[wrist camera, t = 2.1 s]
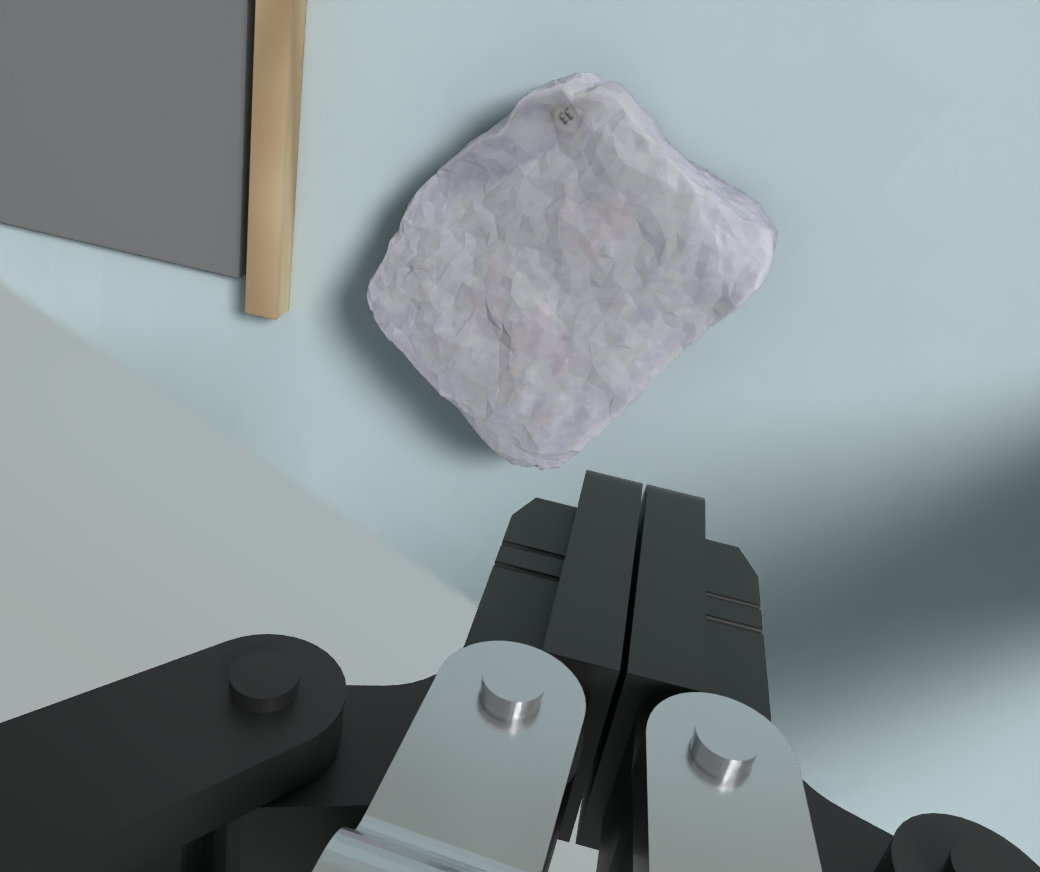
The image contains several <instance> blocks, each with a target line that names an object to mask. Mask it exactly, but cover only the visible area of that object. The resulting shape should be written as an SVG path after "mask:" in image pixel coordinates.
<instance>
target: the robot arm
mask: <svg viewBox="0 0 1040 872" xmlns="http://www.w3.org/2000/svg"><path fill="white" fill-rule="evenodd" d="M642 487H643V484H642V483H638V482H634V481H630V480H626V479H622V478H618V477H614V476H610V475H605V474H601V473H597V472H593V471H589V470H586V474H585V479H584V483H583V487H582V491H581V495H580V499H579V503H578V507H577V508H576V507H572V506H568V505H564V504H560V503H556V502H552V501H548V500H544V499H540V498H535V499H534V500H532V501H531V502H530V503H528V504H527V505H525V506H524V507H523V508H521V509H520V510H518V511H517V512H516V513H514V514H513V515H512V517H511V520H510V522H509V525H508V528H507V530H506V533H505V536H504V539H503V542H502V545H501V547H500V550H499V552H498V555H497V558H496V561H495V565H494V566H493V569H492V571H491V574H490V577H489V580H488V582H487V585H486V588H485V591H484V593H483V596H482V599H481V602H480V604H479V607H478V610H477V612H476V615H475V618H474V621H473V623H472V626H471V629H470V632H469V634H468V637H467V640H466V643H465V645H464V647H463V648H462V649H460V650H458V651H457V652H455V653H454V654H452V655H451V656H450V657H449V658H448V659H447V660H446V661H445V662H444V663H443V665H442V666H441V668H440V669H439V671H438V673H437V674H436V675H433V676H431V677H429V678H426V679H424V680H420V681H417V682H414V683H409V684H402V685H391V686H359V685H353V686H352V685H346V683H345V677H344V675H343V673H342V670H341V668H340V667H339V665H338V664H337V663H336V661H335V660H334V659H333V658H332V657H331V656H330V655H329V654H328V653H327V652H325V651H324V650H322V649H321V648H319V647H318V646H316V645H314V644H312V643H309V642H307V641H305V640H301V639H298V638H295V637H290V636H284V635H275V634H261V635H251V636H244V637H240V638H236V639H233V640H229V641H226V642H223V643H221V644H218V645H215V646H213V647H210V648H207V649H204V650H201V651H199V652H196V653H193V654H190V655H187V656H185V657H182V658H179V659H177V660H174V661H171V662H168V663H166V664H163V665H160V666H157V667H154V668H151V669H149V670H146V671H143V672H140V673H138V674H135V675H132V676H129V677H127V678H124V679H121V680H118V681H116V682H113V683H110V684H107V685H104V686H102V687H99V688H96V689H93V690H91V691H88V692H85V693H82V694H80V695H77V696H74V697H71V698H69V699H66V700H63V701H60V702H57V703H55V704H52V705H50V706H47V707H44V708H41V709H38V710H35V711H33V712H30V713H27V714H24V715H22V716H19V717H16V718H13V719H11V720H8V721H5V722H2V723H0V872H548V869H549V866H550V862H551V859H552V855H553V852H554V849H555V845H556V841H557V839H559V840H563V841H566V842H569V841H570V837H571V834H572V830H573V827H574V824H575V820H576V817H577V814H578V810H579V807H580V804H581V800H582V804H581V810H580V818H579V823H578V831H577V837H576V844H579V845H582V846H586V847H589V848H593V849H597V850H599V855H598V863H597V871H596V872H1040V867H1039V866H1038V865H1037V864H1036V863H1035V862H1034V861H1033V860H1031V859H1030V858H1029V857H1028V856H1027V855H1026V854H1025V853H1023V852H1022V851H1021V850H1020V849H1019V848H1017V847H1016V846H1015V845H1013V844H1012V843H1011V842H1009V841H1008V840H1006V839H1005V838H1003V837H1002V836H1000V835H998V834H997V833H995V832H993V831H992V830H990V829H988V828H986V827H984V826H982V825H979V824H977V823H975V822H972V821H970V820H967V819H964V818H961V817H957V816H952V815H948V814H938V813H930V814H921V815H917V816H914V817H911V818H910V819H908V820H906V821H905V822H903V823H902V824H901V825H900V827H899V828H898V829H897V830H896V832H895V834H894V836H893V835H891V834H889V833H887V832H885V831H884V830H882V829H880V828H878V827H876V826H874V825H872V824H870V823H868V822H867V821H865V820H863V819H861V818H859V817H857V816H855V815H853V814H852V813H850V812H848V811H846V810H844V809H842V808H841V807H839V806H837V805H836V804H834V803H832V802H830V801H829V800H827V799H826V798H824V797H823V796H822V795H820V794H819V793H818V792H816V791H815V790H814V789H813V788H811V787H810V786H809V785H808V784H807V783H806V782H805V781H803V780H802V777H801V772H800V767H799V763H798V760H797V757H796V754H795V752H794V750H793V749H792V747H791V745H790V743H789V742H788V740H787V739H786V738H785V736H784V735H783V734H782V733H781V732H780V730H779V729H778V728H777V727H776V726H775V725H774V724H773V723H771V714H770V703H769V692H768V681H767V671H766V660H765V649H764V639H763V634H761V633H762V629H763V628H762V617H761V610H759V608H760V596H759V585H758V576H757V574H756V573H755V571H754V570H753V568H752V567H751V565H750V564H749V562H748V561H747V559H746V558H745V557H744V555H743V554H742V552H741V551H740V549H739V548H738V547H735V546H731V545H727V544H723V543H719V542H715V541H711V540H706V539H705V499H704V498H701V497H697V496H692V495H688V494H684V493H680V492H676V491H672V490H668V489H664V488H660V487H656V486H651V485H647V486H646V488H645V491H644V494H643V497H642V500H641V495H642ZM640 503H641V504H640Z"/></svg>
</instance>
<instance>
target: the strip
mask: <svg viewBox="0 0 1040 872" xmlns="http://www.w3.org/2000/svg"><path fill="white" fill-rule="evenodd" d="M306 4H307V0H256V5H255V34H254V64H253V93H252V122H251V151H250V180H249V209H248V238H247V267H246V296H245V313H249V314H253V315H257V316H261V317H265V318H270V319H274V320H276V319H277V318H279V317H280V316H281V315H283V314H284V313H285V312H287V311H288V310H289V296H290V279H291V262H292V245H293V227H294V210H295V193H296V176H297V159H298V141H299V124H300V107H301V90H302V73H303V55H304V38H305V21H306Z"/></svg>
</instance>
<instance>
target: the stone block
mask: <svg viewBox="0 0 1040 872" xmlns="http://www.w3.org/2000/svg"><path fill="white" fill-rule="evenodd" d="M777 235H778V231H777V229H776V227H775V226H774V224H773V223H772V221H771V220H770V218H769V217H768V216H767V214H766V213H765V212H764V210H763V208H762V206H761V205H760V203H758V202H757V201H756V200H754V199H753V198H751V197H750V196H748V195H747V194H745V193H744V192H742V191H741V190H739V189H736V188H734V187H731V186H730V185H729V184H728V183H726V182H725V181H723V180H722V179H720V178H718V177H717V176H715V175H714V174H712V173H711V172H709V171H708V170H706V169H704V168H702V167H701V166H699V165H697V164H695V163H693V162H691V161H688V160H687V159H686V158H684V157H683V156H682V155H681V154H680V153H679V152H678V151H676V150H675V149H674V148H673V147H672V146H671V145H670V143H669V142H668V141H667V139H666V138H665V137H664V135H663V133H662V132H661V130H660V129H659V127H658V126H657V124H656V122H655V121H654V119H653V118H652V117H651V116H650V115H649V114H648V113H647V112H646V111H645V110H644V109H643V108H642V107H641V106H640V105H639V104H638V102H637V101H636V99H635V98H634V96H633V94H632V93H631V92H630V91H629V90H628V89H627V88H625V87H624V86H623V85H621V84H620V83H616V82H611V81H609V80H606V79H605V78H603V77H601V76H599V75H596V74H592V73H574V74H573V75H571V76H568V77H565V78H561V79H557V80H553V81H551V82H549V83H547V84H545V85H543V86H540V87H538V88H536V89H533V90H532V91H530V92H529V93H527V94H526V95H525V96H524V97H523V98H522V99H521V100H520V101H519V102H518V103H517V104H516V105H515V106H514V108H513V109H512V111H511V112H510V113H509V114H508V115H507V116H506V117H505V118H503V119H502V120H501V121H500V122H498V123H497V124H496V125H495V126H493V127H492V128H491V129H490V130H488V131H487V132H485V133H483V134H482V135H480V136H478V137H476V138H475V139H473V140H472V141H470V142H469V143H468V144H467V145H466V146H465V147H464V148H463V149H462V150H461V151H460V152H459V153H458V154H457V155H456V156H454V157H453V158H451V159H450V160H448V161H447V162H446V163H445V164H444V165H443V166H442V167H441V168H440V169H439V170H438V171H437V173H436V174H435V175H433V176H432V177H431V178H430V179H429V180H428V181H427V182H426V183H425V184H424V185H423V186H422V187H421V188H420V189H419V190H418V191H417V192H416V193H415V195H414V196H413V197H412V199H411V201H410V203H409V205H408V207H407V209H406V211H405V214H404V216H403V218H402V220H401V223H400V226H399V231H398V232H396V233H395V234H394V235H393V237H392V238H391V240H390V241H389V244H388V249H387V253H386V255H385V257H384V259H383V261H382V262H381V264H380V265H379V266H378V268H377V270H376V271H375V273H374V275H373V276H372V277H371V278H370V280H369V282H368V283H369V287H368V289H367V300H368V303H369V306H370V310H372V313H373V317H374V318H375V320H376V322H377V325H378V326H379V328H380V330H381V331H382V332H383V333H384V334H385V335H386V337H387V338H388V340H389V341H391V342H392V343H393V344H394V345H395V346H396V347H397V348H398V349H399V350H400V351H402V353H403V355H404V356H405V357H406V358H407V359H408V360H409V361H410V362H411V363H412V365H413V366H414V367H415V368H416V370H417V371H418V372H419V373H420V374H421V375H422V376H423V377H424V378H425V379H426V380H427V381H428V382H429V383H430V384H431V385H432V386H433V387H434V388H435V389H436V390H437V392H438V393H439V394H440V395H441V396H443V397H444V398H445V399H447V400H448V401H450V402H451V403H452V404H453V405H454V406H456V407H457V408H458V409H459V410H460V411H461V413H462V414H463V416H464V417H465V418H466V420H467V421H468V422H469V423H470V425H471V426H472V427H473V429H474V430H475V431H476V432H477V433H478V435H479V436H480V437H481V439H482V440H483V441H484V442H485V443H486V444H487V445H488V446H489V447H490V448H491V449H492V450H493V451H494V452H495V453H497V454H498V455H500V456H501V457H503V458H504V459H506V460H507V461H508V462H510V463H511V464H513V465H520V466H524V467H531V466H536V467H538V468H539V469H540V470H544V469H552V468H560V467H561V466H562V465H563V464H564V463H566V462H567V461H568V460H569V459H570V458H572V457H573V456H574V455H576V454H577V453H579V452H580V451H581V450H582V449H583V448H585V447H586V446H587V445H588V444H590V443H591V442H592V441H593V440H594V439H595V438H596V437H597V436H598V435H599V434H600V433H601V432H602V431H603V430H604V429H605V428H606V427H607V426H608V425H609V424H610V423H611V422H612V421H614V420H615V419H616V418H617V417H618V416H619V415H620V414H621V413H622V412H623V411H625V410H626V409H627V408H628V407H629V406H630V405H631V404H632V403H633V402H634V401H635V400H636V399H637V398H638V397H639V396H640V395H641V393H642V392H643V391H644V390H645V389H646V388H647V387H648V386H649V385H650V384H651V383H652V382H653V380H654V379H655V378H656V377H657V376H658V375H659V374H660V373H661V372H662V371H663V370H664V369H665V368H666V367H667V366H668V365H669V364H670V363H671V362H672V361H673V360H674V359H675V358H676V357H677V356H678V355H679V354H680V353H681V352H682V351H683V350H685V349H686V348H687V347H688V346H689V345H691V344H692V343H693V342H694V341H696V340H697V339H698V338H699V337H700V336H701V335H702V334H703V333H704V332H705V331H706V330H707V329H708V328H709V327H711V326H712V325H714V324H715V323H717V322H718V321H720V320H721V319H723V318H724V317H726V316H727V315H729V314H730V313H732V312H733V311H735V310H736V309H737V308H738V307H739V306H740V305H741V304H742V303H743V302H744V301H745V300H746V299H748V298H749V297H750V296H751V295H752V294H753V293H754V292H755V291H756V290H757V289H758V288H759V286H760V285H761V283H762V282H763V280H764V279H765V277H766V275H767V274H768V272H769V270H770V265H771V261H772V254H773V251H774V249H775V246H776V240H777Z"/></svg>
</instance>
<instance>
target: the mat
mask: <svg viewBox="0 0 1040 872" xmlns="http://www.w3.org/2000/svg"><path fill="white" fill-rule="evenodd" d="M253 27H254V0H0V222H2V223H6V224H10V225H15V226H19V227H23V228H27V229H32V230H36V231H40V232H44V233H49V234H53V235H57V236H61V237H66V238H70V239H74V240H79V241H83V242H87V243H91V244H96V245H100V246H104V247H108V248H113V249H117V250H121V251H125V252H130V253H134V254H138V255H142V256H147V257H151V258H155V259H159V260H164V261H168V262H172V263H176V264H181V265H185V266H189V267H193V268H198V269H202V270H206V271H210V272H215V273H219V274H223V275H228V276H232V277H236V278H240V277H242V276H244V275H245V264H246V234H247V204H248V175H249V145H250V116H251V86H252V57H253Z"/></svg>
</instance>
